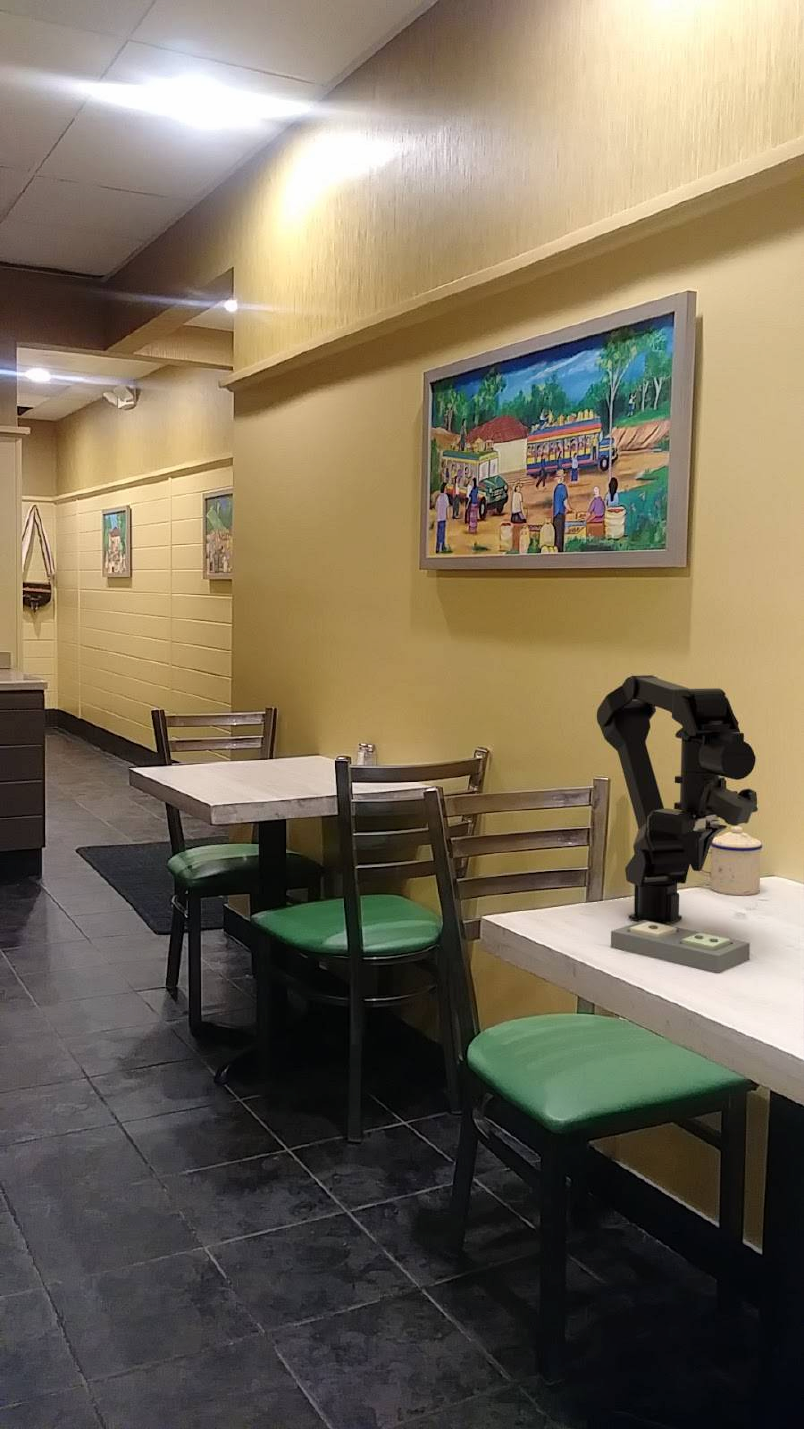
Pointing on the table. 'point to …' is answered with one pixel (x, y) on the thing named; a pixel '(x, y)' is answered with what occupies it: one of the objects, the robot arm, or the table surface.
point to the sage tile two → (706, 941)
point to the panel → (680, 949)
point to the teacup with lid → (735, 863)
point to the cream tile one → (653, 930)
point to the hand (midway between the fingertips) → (697, 870)
